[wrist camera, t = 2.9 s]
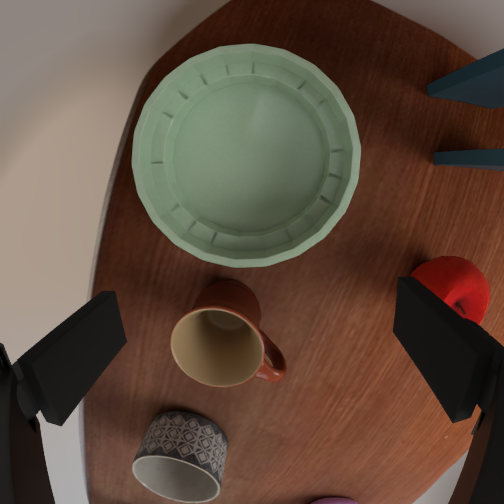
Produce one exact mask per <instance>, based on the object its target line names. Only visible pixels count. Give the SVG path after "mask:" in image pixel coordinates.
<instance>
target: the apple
mask: <svg viewBox="0 0 504 504" xmlns="http://www.w3.org/2000/svg"><path fill="white" fill-rule="evenodd" d="M410 276H413V277H415V278H416V279H417V280H418V281H420V282H421V283H422V284H423V285H425V286H426V287H427V288H428V289H429V290H431V291H432V292H433V293H434V294H436V295H437V296H438V297H439V298H440V299H442V300H443V301H444V302H445V303H446V304H448V305H449V306H450V307H451V308H452V309H453V310H455V311H456V312H457V313H458V314H459V315H460V316H462V317H463V318H467V319H469V320H472V321H474V322H476V323H477V324H478V325H480V323H481V322H482V320H483V318H484V316H485V313H486V310H487V308H488V305H489V302H490V286H489V284H488V282H487V280H486V278H485V277H484V275H483V273H482V272H481V271H480V270H479V269H478V268H477V267H476V266H475V265H474V264H473V263H472V262H470V261H468V260H466V259H464V258H461V257H456V256H441V257H438V258H436V259H433V260H430V261H427V262H425V263H423V264H422V265H420V266H418V267H417V268H416V269H415V270H414V271H413V272H412V274H411V275H410Z"/></svg>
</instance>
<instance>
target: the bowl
mask: <svg viewBox="0 0 504 504" xmlns="http://www.w3.org/2000/svg"><path fill="white" fill-rule="evenodd" d="M360 148H361V145H360V140H359V135H358V131H357V126H356V122H355V117H354V115H353V113H352V111H351V109H350V107H349V106H348V104H347V102H346V100H345V98H344V97H343V95H342V93H341V91H340V90H339V88H338V87H337V86H336V85H335V84H334V83H333V82H332V81H331V80H330V79H329V78H328V77H327V76H326V75H325V74H324V73H323V72H322V71H321V70H320V69H319V68H318V67H316V66H315V65H314V64H312V63H310V62H308V61H307V60H305V59H303V58H301V57H299V56H297V55H295V54H293V53H291V52H289V51H287V50H285V49H280V48H275V47H270V46H264V45H259V44H240V45H230V46H221V47H217V48H215V49H212V50H209V51H207V52H204V53H202V54H199V55H197V56H194V57H192V58H190V59H188V60H187V61H185V62H184V63H183V64H181V65H180V66H179V67H177V68H176V69H175V70H173V71H172V72H171V73H169V74H168V75H167V76H166V77H164V79H163V80H162V81H161V82H160V84H159V85H158V86H157V88H156V89H155V90H154V92H153V93H152V94H151V96H150V97H149V99H148V100H147V101H146V103H145V105H144V107H143V110H142V112H141V115H140V118H139V120H138V123H137V126H136V128H135V131H134V138H133V150H132V169H133V174H134V179H135V184H136V188H137V193H138V196H139V197H140V199H141V201H142V203H143V205H144V207H145V209H146V211H147V212H148V214H149V216H150V218H151V220H152V221H153V223H154V224H155V225H156V226H157V227H158V228H159V229H160V230H161V231H162V232H163V233H164V234H165V235H166V236H167V237H168V238H169V239H170V240H171V241H172V242H173V243H174V244H175V245H177V246H178V247H180V248H182V249H184V250H185V251H187V252H189V253H191V254H192V255H194V256H196V257H198V258H200V259H201V260H204V261H208V262H212V263H216V264H220V265H225V266H229V267H234V268H240V267H264V266H269V265H272V264H275V263H278V262H281V261H284V260H287V259H290V258H294V257H297V256H299V255H300V254H302V253H303V252H305V251H306V250H307V249H309V248H310V247H312V246H313V245H315V244H316V243H318V242H319V241H321V240H322V239H323V238H325V237H326V236H327V234H328V233H329V232H330V231H331V229H332V228H333V227H334V226H335V225H336V223H337V222H338V221H339V220H340V218H341V217H342V216H343V215H344V213H345V211H346V210H347V208H348V205H349V203H350V200H351V198H352V195H353V193H354V190H355V188H356V186H357V183H358V178H359V168H360V157H361V149H360Z"/></svg>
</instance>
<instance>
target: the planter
mask: <svg viewBox="0 0 504 504" xmlns="http://www.w3.org/2000/svg"><path fill="white" fill-rule="evenodd" d="M227 448H228V441H227V438H226V435H225V434H224V432H223V431H222V430H221V429H220V428H219V427H218V426H217V425H216V424H215V423H213V422H212V421H210V420H208V419H206V418H204V417H202V416H200V415H197V414H194V413H190V412H184V411H169V412H165V413H162V414H160V415H158V416H156V417H155V418H154V419H153V420H152V422H151V424H150V426H149V428H148V430H147V433H146V435H145V437H144V439H143V441H142V444H141V446H140V448H139V450H138V452H137V455H136V457H135V459H134V461H133V464H132V471H133V474H134V476H135V477H136V478H137V480H138V481H139V482H140V483H141V484H142V485H144V486H145V487H146V488H148V489H149V490H151V491H152V492H154V493H156V494H158V495H160V496H163V497H165V498H168V499H171V500H175V501H180V502H186V503H202V502H207V501H210V500H213V499H214V498H216V497H217V496H218V495H219V493H220V490H221V484H222V478H223V472H224V466H225V460H226V454H227Z"/></svg>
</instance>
